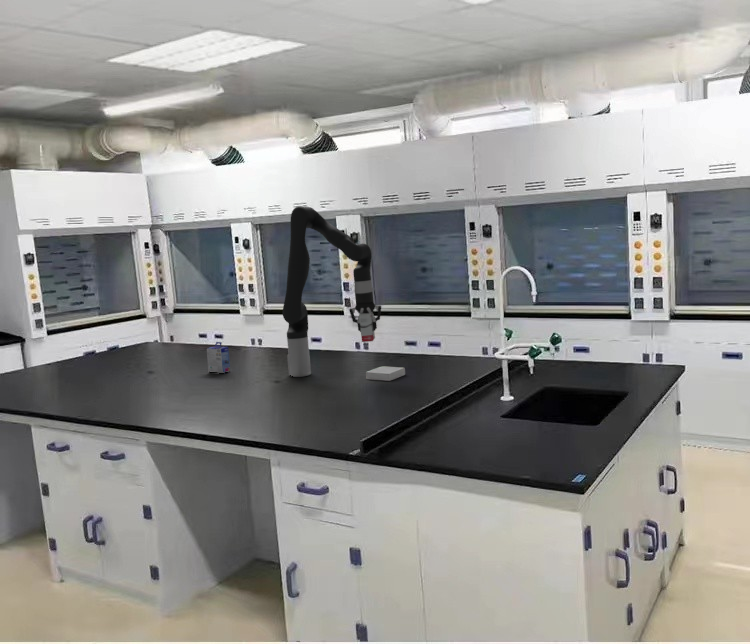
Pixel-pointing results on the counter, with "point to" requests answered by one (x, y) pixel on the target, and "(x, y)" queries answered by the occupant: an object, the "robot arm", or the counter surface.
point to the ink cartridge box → (218, 358)
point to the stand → (385, 373)
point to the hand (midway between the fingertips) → (367, 330)
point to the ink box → (366, 327)
